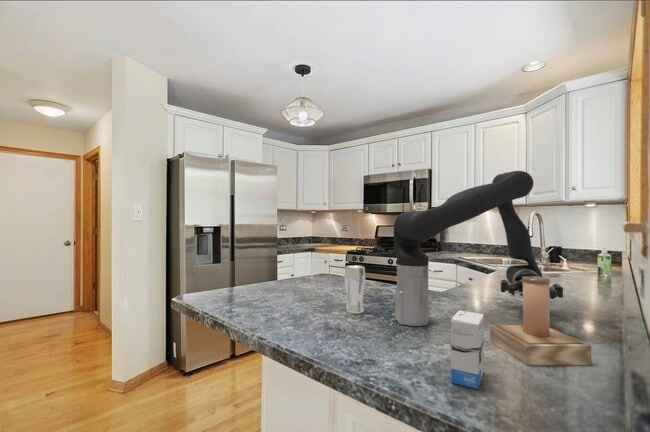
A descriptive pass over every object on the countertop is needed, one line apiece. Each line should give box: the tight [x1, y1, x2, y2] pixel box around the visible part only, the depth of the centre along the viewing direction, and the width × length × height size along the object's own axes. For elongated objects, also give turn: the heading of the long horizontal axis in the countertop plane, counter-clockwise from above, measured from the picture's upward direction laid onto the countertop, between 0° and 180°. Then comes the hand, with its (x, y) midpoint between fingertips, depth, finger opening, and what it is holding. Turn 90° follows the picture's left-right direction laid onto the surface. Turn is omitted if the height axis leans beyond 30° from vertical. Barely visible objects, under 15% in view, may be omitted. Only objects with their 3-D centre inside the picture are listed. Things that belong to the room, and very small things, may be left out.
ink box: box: [450, 310, 485, 390], centre depth 62 cm, size 8×5×12 cm, turn 148°
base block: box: [489, 324, 592, 366], centre depth 75 cm, size 14×14×4 cm
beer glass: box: [344, 264, 366, 314], centre depth 109 cm, size 7×7×15 cm
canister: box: [522, 276, 551, 337], centre depth 75 cm, size 5×5×13 cm
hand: (532, 293), depth 82 cm, fingers open, 8 cm apart
